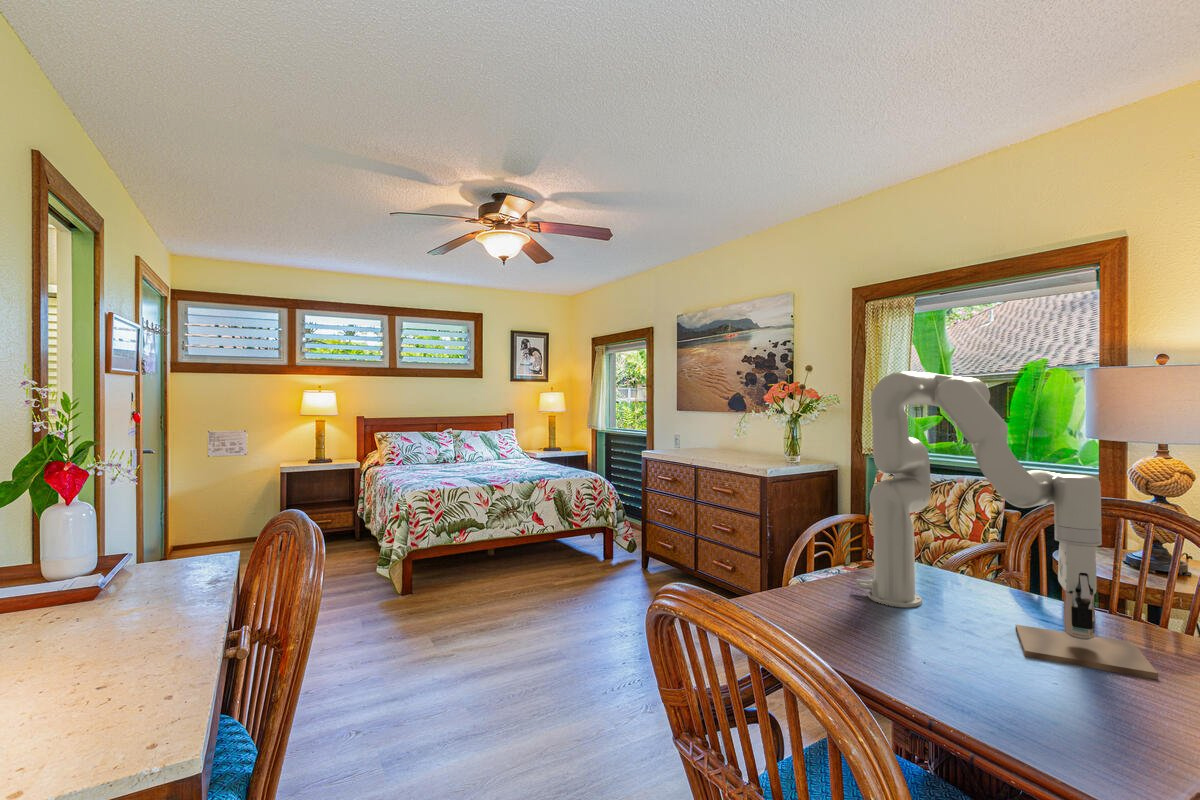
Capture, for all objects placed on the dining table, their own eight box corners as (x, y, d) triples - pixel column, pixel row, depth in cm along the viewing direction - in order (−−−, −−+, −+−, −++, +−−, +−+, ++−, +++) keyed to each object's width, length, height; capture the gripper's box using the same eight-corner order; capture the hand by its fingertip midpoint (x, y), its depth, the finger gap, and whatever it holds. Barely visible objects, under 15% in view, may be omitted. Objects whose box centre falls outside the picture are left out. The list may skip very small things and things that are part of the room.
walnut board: (1025, 656, 117) (1024, 650, 117) (1015, 629, 131) (1015, 624, 131) (1158, 679, 107) (1158, 673, 107) (1132, 648, 120) (1132, 642, 120)
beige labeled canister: (1083, 632, 121) (1082, 574, 121) (1100, 641, 116) (1099, 581, 116) (1058, 631, 121) (1058, 574, 121) (1075, 640, 116) (1074, 581, 117)
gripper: (1047, 525, 128) (1049, 607, 128) (1062, 541, 113) (1063, 634, 113) (1091, 528, 124) (1093, 613, 124) (1112, 545, 110) (1114, 641, 109)
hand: (1079, 622), depth 119 cm, fingers closed on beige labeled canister, 4 cm apart
